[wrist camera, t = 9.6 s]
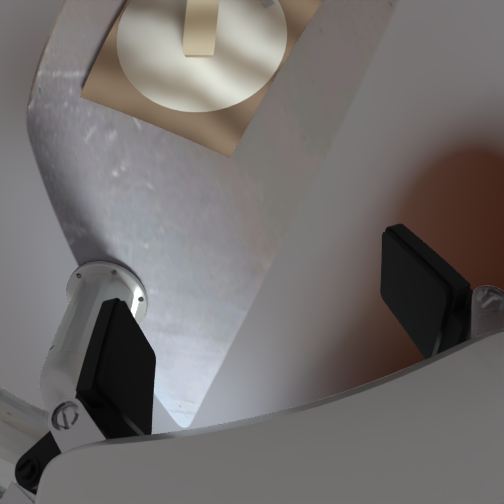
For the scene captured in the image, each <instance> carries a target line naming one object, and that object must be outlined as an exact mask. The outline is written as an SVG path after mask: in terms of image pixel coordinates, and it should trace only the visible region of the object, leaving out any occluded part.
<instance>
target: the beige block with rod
mask: <svg viewBox="0 0 504 504" xmlns="http://www.w3.org/2000/svg"><path fill="white" fill-rule="evenodd" d="M218 9H219V0H187V7H186V16H185V25H184V35H183V45H182V52H183V53H184V55H185V57H195V58H212V57H213V54H214V48H215V38H216V28H217V18H218Z"/></svg>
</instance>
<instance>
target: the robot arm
mask: <svg viewBox="0 0 504 504" xmlns="http://www.w3.org/2000/svg"><path fill="white" fill-rule="evenodd" d="M381 296H382V298H383V300H384V302H385V303H386V304H387V306H388V307H389V309H390V310H391V311H392V313H393V314H394V315H395V317H396V318H397V320H398V321H399V322H400V324H401V325H402V327H403V328H404V329H405V331H406V332H407V334H408V335H409V336H410V338H411V339H412V341H413V342H414V344H415V345H416V346H417V348H418V349H419V351H420V352H421V354H422V355H423V357H424V358H425V359H426V360H424V361H421V362H419V363H417V364H415V365H412V366H410V367H408V368H405V369H403V370H400V371H398V372H396V373H393V374H391V375H388V376H386V377H383V378H381V379H378V380H375V381H373V382H370V383H367V384H365V385H362V386H359V387H356V388H353V389H350V390H347V391H345V392H342V393H339V394H336V395H333V396H329V397H326V398H323V399H320V400H317V401H313V402H310V403H307V404H303V405H300V406H296V407H292V408H289V409H285V410H281V411H277V412H274V413H269V414H265V415H261V416H257V417H252V418H248V419H243V420H239V421H234V422H229V423H224V424H219V425H214V426H208V427H202V428H196V429H189V430H182V431H175V432H168V433H162V434H161V433H160V434H153V435H151V432H152V411H153V409H152V408H153V394H154V379H155V366H156V356H155V353H154V351H153V349H152V347H151V346H150V344H149V342H148V341H147V339H146V337H145V336H144V334H143V332H142V330H141V329H140V327H139V324H140V323H141V322H142V321H143V319H144V317H145V316H146V312H147V306H148V299H147V294H146V291H145V289H144V287H143V285H142V283H141V282H140V281H139V280H138V279H137V277H136V276H134V275H133V274H132V273H131V272H130V271H128V270H127V269H125V268H124V267H122V266H119V265H117V264H114V263H110V262H106V261H94V262H89V263H86V264H83V265H82V266H80V267H78V268H77V269H76V270H75V271H74V272H73V274H72V275H71V277H70V279H69V281H68V284H67V299H68V302H69V305H68V307H67V309H66V312H65V314H64V316H63V318H62V321H61V323H60V325H59V327H58V330H57V332H56V334H55V337H54V339H53V342H52V344H51V347H50V349H49V351H48V354H47V356H46V359H45V362H44V364H43V367H42V370H41V374H40V390H41V395H42V399H43V402H44V405H45V408H46V411H45V410H42V409H40V408H38V407H36V406H34V405H32V404H31V403H29V402H27V401H25V400H23V399H21V398H20V397H18V396H16V395H14V394H13V393H11V392H9V391H8V390H6V389H4V388H2V387H1V386H0V504H504V292H503V291H502V290H501V289H499V288H497V287H494V286H480V287H478V288H477V289H475V290H474V291H473V290H471V289H470V283H468V282H467V281H466V280H465V279H464V278H463V277H462V276H461V275H460V274H459V273H458V272H457V271H456V270H455V269H454V268H453V267H452V266H450V265H449V264H448V263H447V262H446V261H445V260H444V259H443V258H442V257H440V256H439V255H438V254H437V253H436V252H435V251H433V249H431V248H430V247H429V246H428V245H427V244H426V243H424V242H423V241H422V240H421V239H420V238H419V237H417V236H416V235H415V234H414V233H412V232H411V231H410V230H409V229H408V228H406V227H405V226H404V225H403V224H397V225H393V226H390V227H387V228H386V230H385V232H383V234H382V265H381Z"/></svg>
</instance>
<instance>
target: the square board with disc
mask: <svg viewBox="0 0 504 504" xmlns="http://www.w3.org/2000/svg"><path fill="white" fill-rule="evenodd" d="M322 2H323V0H219V9H218V18H217V28H216V38H215V48H214V54H213V57H212V58H195V57H185V55H184V53H183V52H182V45H183V35H184V25H185V16H186V7H187V0H128V1H127V3H126V4H125V6H124V8H123V9H122V11H121V13H120V15H119V16H118V18H117V20H116V22H115V23H114V25H113V27H112V29H111V31H110V33H109V35H108V36H107V38H106V40H105V42H104V44H103V46H102V48H101V50H100V52H99V54H98V56H97V59H96V61H95V63H94V65H93V67H92V69H91V72H90V74H89V76H88V79H87V81H86V83H85V86H84V88H83V90H82V93H81V95H80V97H82V98H85V99H87V100H90V101H93V102H96V103H99V104H101V105H104V106H107V107H109V108H112V109H115V110H117V111H120V112H123V113H125V114H128V115H130V116H133V117H136V118H138V119H141V120H143V121H146V122H148V123H151V124H153V125H155V126H158V127H160V128H163V129H165V130H167V131H170V132H172V133H175V134H177V135H179V136H182V137H184V138H186V139H189V140H191V141H193V142H195V143H198V144H200V145H202V146H204V147H207V148H209V149H211V150H213V151H216V152H218V153H220V154H222V155H224V156H226V157H229V158H230V157H231V155H232V154H233V152H234V150H235V148H236V146H237V144H238V142H239V141H240V139H241V137H242V135H243V133H244V131H245V130H246V128H247V126H248V124H249V122H250V120H251V119H252V117H253V115H254V113H255V112H256V110H257V108H258V106H259V104H260V103H261V101H262V99H263V97H264V96H265V94H266V92H267V90H268V89H269V87H270V85H271V84H272V82H273V80H274V78H275V77H276V75H277V73H278V72H279V70H280V68H281V67H282V65H283V63H284V62H285V60H286V58H287V57H288V55H289V53H290V52H291V50H292V49H293V47H294V45H295V44H296V42H297V40H298V39H299V37H300V36H301V34H302V32H303V31H304V29H305V28H306V26H307V25H308V23H309V21H310V20H311V18H312V17H313V15H314V14H315V12H316V11H317V9H318V8H319V6H320V5H321V3H322Z"/></svg>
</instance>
